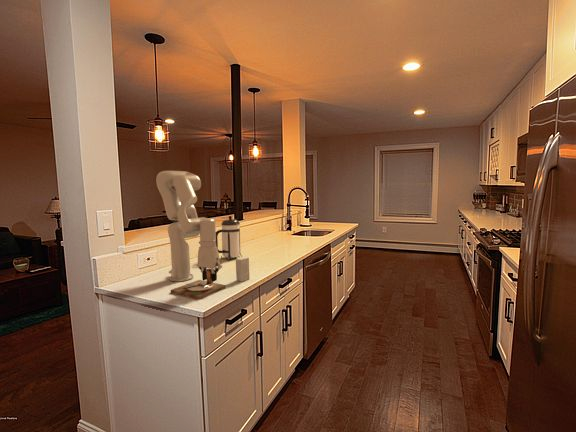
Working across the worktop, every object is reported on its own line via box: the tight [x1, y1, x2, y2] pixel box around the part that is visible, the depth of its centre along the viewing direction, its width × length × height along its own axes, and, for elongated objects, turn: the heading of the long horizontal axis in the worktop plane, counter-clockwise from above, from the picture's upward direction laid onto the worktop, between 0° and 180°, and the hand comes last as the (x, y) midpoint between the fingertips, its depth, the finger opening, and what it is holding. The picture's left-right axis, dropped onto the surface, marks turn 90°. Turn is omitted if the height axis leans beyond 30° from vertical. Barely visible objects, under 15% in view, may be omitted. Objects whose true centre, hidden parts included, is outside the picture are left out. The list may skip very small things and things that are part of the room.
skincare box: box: [235, 256, 250, 283], centre depth 169 cm, size 6×4×12 cm
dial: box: [183, 268, 215, 292], centre depth 152 cm, size 15×13×8 cm
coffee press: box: [216, 215, 243, 261], centre depth 219 cm, size 17×16×30 cm
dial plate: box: [170, 279, 227, 300], centre depth 153 cm, size 19×18×2 cm
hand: (209, 279), depth 156 cm, fingers open, 4 cm apart
